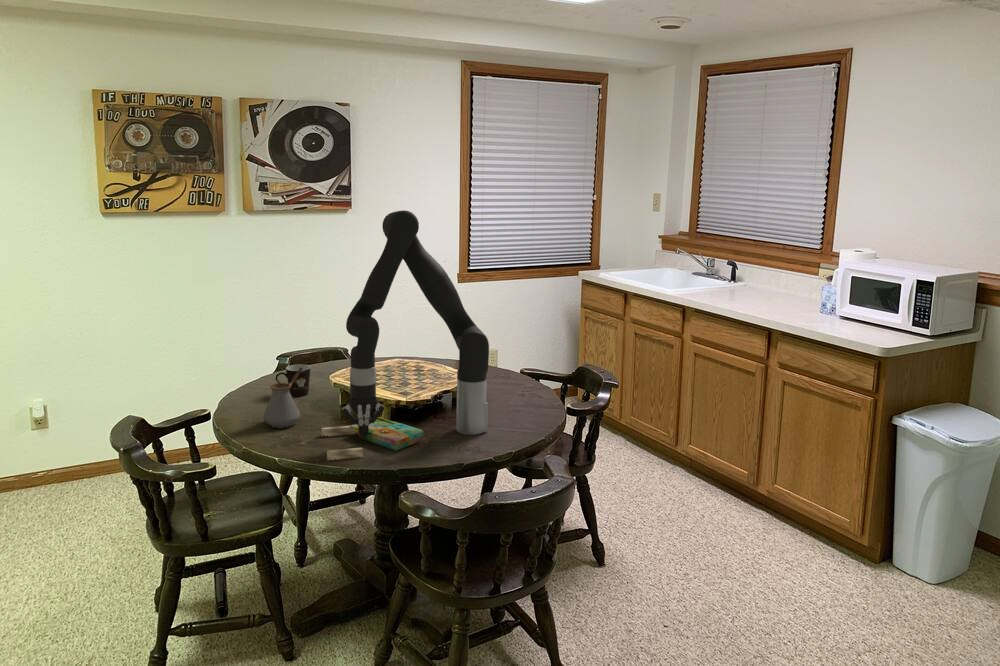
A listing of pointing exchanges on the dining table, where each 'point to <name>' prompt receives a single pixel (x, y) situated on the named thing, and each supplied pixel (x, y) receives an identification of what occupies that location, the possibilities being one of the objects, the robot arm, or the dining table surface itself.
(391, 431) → the puzzle game
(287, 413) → the coffee pot
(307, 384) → the coffee mug
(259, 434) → the dining table surface
